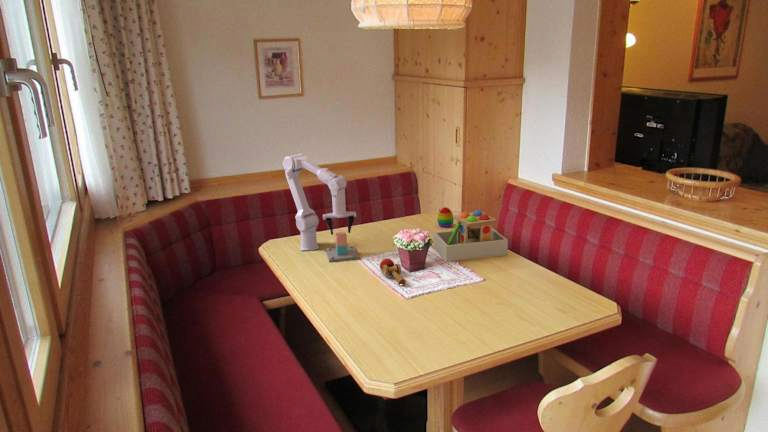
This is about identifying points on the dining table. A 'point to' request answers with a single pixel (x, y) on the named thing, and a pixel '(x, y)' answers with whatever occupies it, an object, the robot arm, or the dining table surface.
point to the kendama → (392, 270)
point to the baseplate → (334, 257)
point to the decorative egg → (445, 218)
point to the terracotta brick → (341, 238)
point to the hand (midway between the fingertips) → (340, 233)
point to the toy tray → (469, 247)
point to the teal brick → (341, 250)
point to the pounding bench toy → (471, 220)
